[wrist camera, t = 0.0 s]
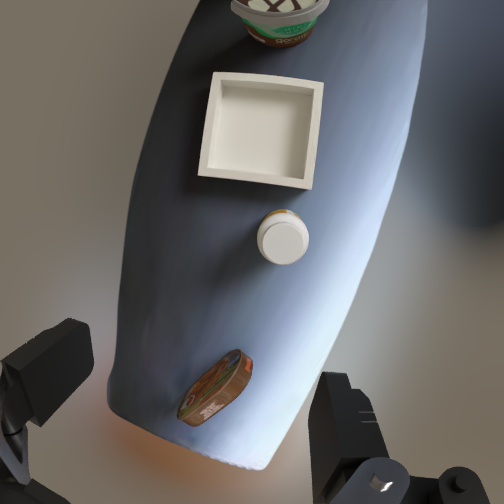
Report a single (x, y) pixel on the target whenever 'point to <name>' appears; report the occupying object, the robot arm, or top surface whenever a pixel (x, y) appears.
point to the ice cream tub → (279, 19)
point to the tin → (216, 388)
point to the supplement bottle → (282, 237)
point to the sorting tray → (261, 129)
